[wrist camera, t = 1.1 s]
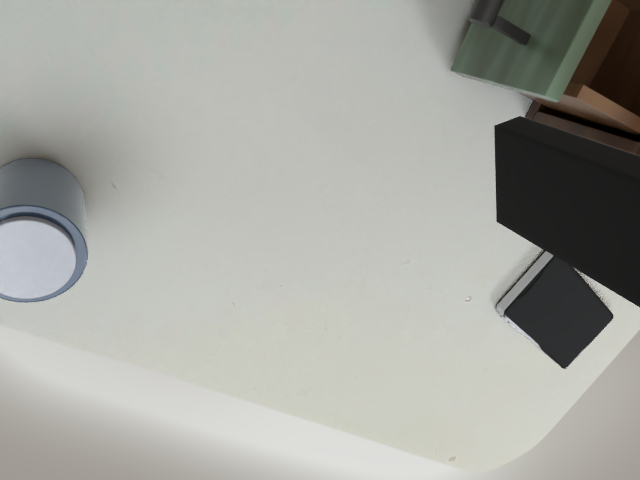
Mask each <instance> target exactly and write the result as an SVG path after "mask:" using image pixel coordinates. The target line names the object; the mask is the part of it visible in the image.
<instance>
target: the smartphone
mask: <svg viewBox="0 0 640 480" xmlns="http://www.w3.org/2000/svg"><path fill="white" fill-rule="evenodd" d="M496 311H497V312H498V313H500V314H501V315H500V316H501V317H502V318H503V319H504V320H505V321H506V322H508V323H509V324H510V325H511V326H512V327H513V328H515V329H516V330H517V331H518V332H519V333H520V334H522V335H523V334H524V335H525V336H526V337H527V338H528V339H529V340H530V341H532V342H533V343H534V344H535V345H536V346H537V347H539V348H540V349H541V350H542V351H543V352H544V353H545V354H547V355H548V356H549V357H550V358H551V359H552V360H553V361H555V362H556V363H557V364H558V365H559V366H561V367H562V368H563V369H566V368H568V367H569V365H570V364H571V363H572V362H573V361H574V360H575V359H576V358H577V357H578V356H579V355H580V354H581V353H582V351H583V350H584V349H585V348H586V347H587V346H588V345H589V344H590V343H591V342H592V341H593V340H594V339H595V337H596V336H597V335H598V334H599V333H600V332H601V331H602V330H603V329H604V328H605V327H606V326H607V325H608V323H609V322H610V321H611V320H612V319H613V314H612V313H611V311H610V310H609V309H608V308H607V307H606V305H605V304H604V303H603V302H602V301H601V300H600V298H599V297H598V296H597V295H596V294H595V292H594V291H593V290H592V289H591V288H590V287H589V285H588V284H587V283H586V282H585V281H584V279H583V278H582V277H581V276H580V275H579V273H578V272H577V270H576V269H575V268H574V267H572V266H570V265H569V264H567V263H565V262H563V261H562V260H560V259H558V258H557V257H555V256H553V255H552V254H550V253H548V252H547V251H545V252H544V253H543V255H542V256H541V257H540V258H539V259H538V260H537V261H536V262H535V263H534V265H533V266H532V267H531V268H530V269H529V270H528V271H527V272H526V273H525V275H524V276H523V277H522V278H521V279H520V280H519V281H518V282H517V284H516V285H515V286H514V287H513V288H512V289H511V290H510V291H509V292H508V294H507V295H506V296H505V297H504V298H503V299H502V300H501V301H500V302H499V304H498V305H497V310H496Z"/></svg>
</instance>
